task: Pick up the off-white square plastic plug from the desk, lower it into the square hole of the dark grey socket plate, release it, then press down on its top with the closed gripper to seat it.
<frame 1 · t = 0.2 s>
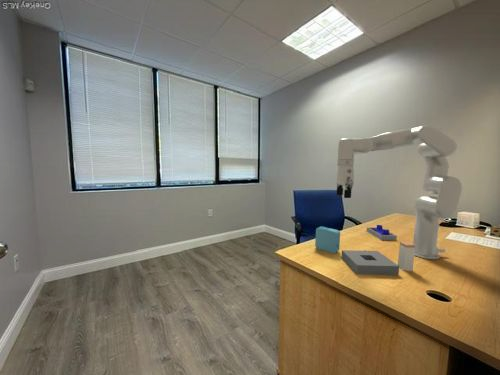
hand: (343, 196, 110), 31 cm above the table, fingers open, 9 cm apart
cable clip: (380, 236, 142), resting in desk tray
desk tray: (380, 235, 142), on the table
data package: (326, 250, 117), on the table
plug: (405, 268, 97), on the table
socket plate: (367, 265, 99), on the table
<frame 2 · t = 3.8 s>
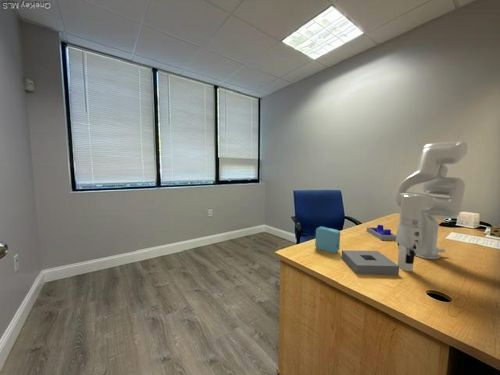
hand: (405, 260, 96), 4 cm above the table, fingers closed on plug, 4 cm apart
plug: (404, 268, 97), on the table, touching gripper
when the fingers open (5 cm above the table, at t = 9.8 s): plug drops 1 cm, resting in socket plate.
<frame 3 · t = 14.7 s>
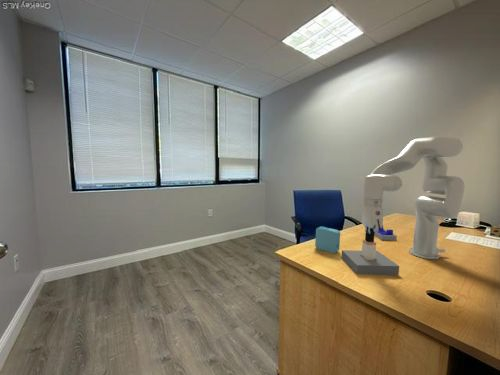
hand: (369, 241, 98), 12 cm above the table, fingers closed
plug: (367, 265, 99), resting in socket plate, touching gripper
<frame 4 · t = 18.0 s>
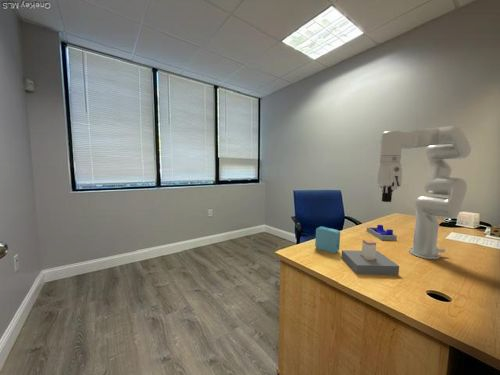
hand: (386, 201, 94), 31 cm above the table, fingers closed
plug: (367, 265, 99), resting in socket plate
at the end: plug 0.1 cm off-centre on the socket plate, point 0.0 cm above the socket plate's base; plug tilted 0°; the gripper is holding nothing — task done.
